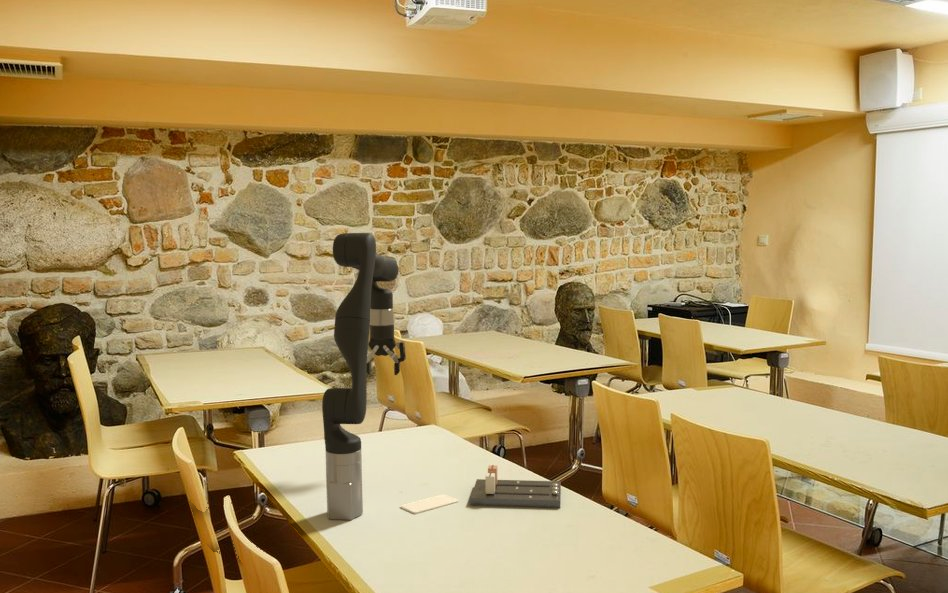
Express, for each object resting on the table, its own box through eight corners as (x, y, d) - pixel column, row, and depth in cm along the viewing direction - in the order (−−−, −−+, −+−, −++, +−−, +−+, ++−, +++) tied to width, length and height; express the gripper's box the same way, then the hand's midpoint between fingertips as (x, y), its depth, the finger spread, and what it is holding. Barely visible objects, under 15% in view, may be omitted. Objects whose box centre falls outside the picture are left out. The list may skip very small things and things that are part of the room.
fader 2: (494, 493, 218) (494, 475, 218) (485, 493, 219) (485, 475, 218) (495, 490, 221) (495, 472, 221) (486, 490, 221) (486, 472, 221)
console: (560, 507, 213) (560, 497, 213) (470, 505, 216) (470, 495, 216) (560, 488, 229) (560, 478, 229) (476, 486, 232) (476, 476, 232)
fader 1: (496, 485, 225) (496, 468, 225) (488, 485, 225) (487, 467, 225) (497, 482, 228) (497, 464, 228) (489, 481, 228) (488, 464, 228)
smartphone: (460, 500, 219) (415, 512, 210) (460, 503, 219) (415, 515, 210) (444, 493, 225) (399, 505, 215) (444, 496, 225) (399, 508, 216)
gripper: (356, 324, 247) (357, 376, 249) (402, 324, 246) (402, 377, 247) (362, 321, 255) (363, 372, 256) (406, 321, 253) (407, 372, 255)
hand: (382, 374), depth 252 cm, fingers open, 8 cm apart
